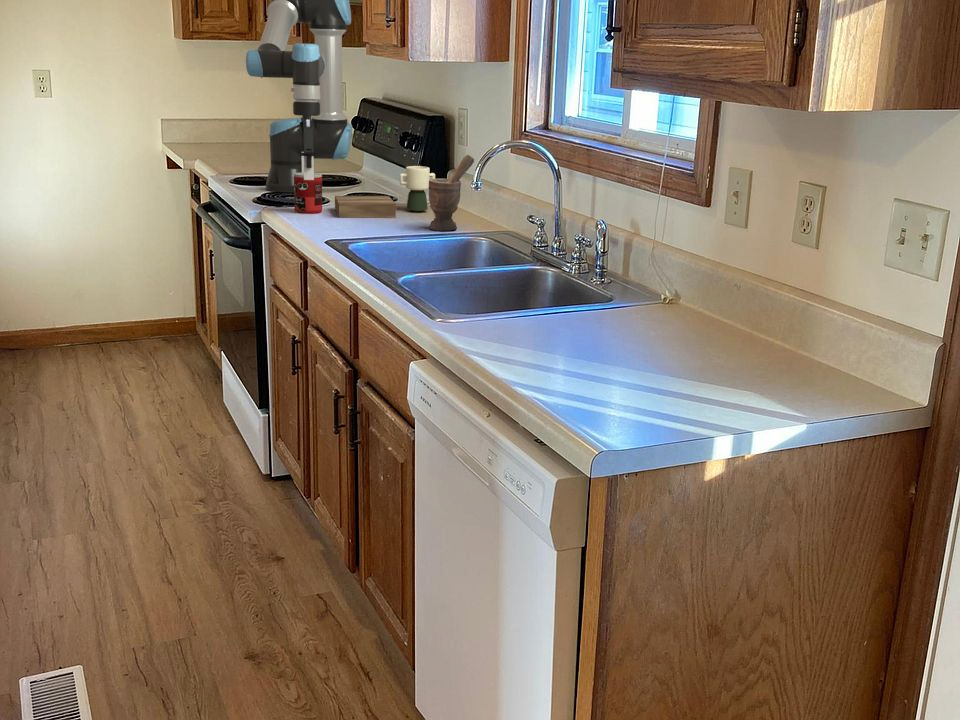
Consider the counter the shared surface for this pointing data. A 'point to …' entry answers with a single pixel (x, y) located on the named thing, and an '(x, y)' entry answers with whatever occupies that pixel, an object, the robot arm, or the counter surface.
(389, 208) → the walnut base
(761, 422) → the counter surface
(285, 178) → the robot arm
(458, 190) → the mortar and pestle
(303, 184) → the canned food
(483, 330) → the counter surface
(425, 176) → the character mug
